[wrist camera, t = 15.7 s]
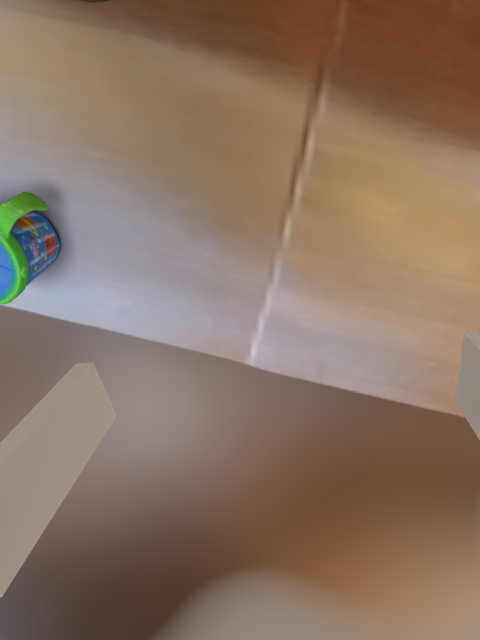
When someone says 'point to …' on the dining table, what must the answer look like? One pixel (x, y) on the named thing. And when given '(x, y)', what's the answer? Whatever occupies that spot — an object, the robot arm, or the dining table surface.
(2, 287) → the snack cup
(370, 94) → the dining table surface
